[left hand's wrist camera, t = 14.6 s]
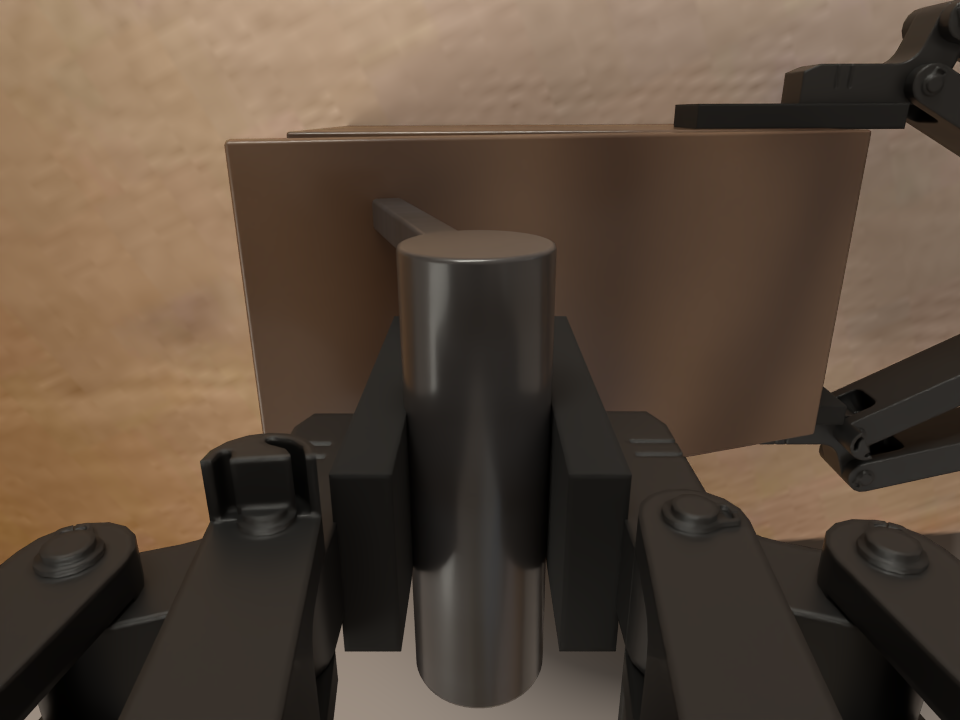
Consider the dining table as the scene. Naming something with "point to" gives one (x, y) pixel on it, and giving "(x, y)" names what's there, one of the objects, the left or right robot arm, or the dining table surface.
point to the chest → (497, 130)
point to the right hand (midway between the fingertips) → (670, 269)
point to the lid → (538, 323)
